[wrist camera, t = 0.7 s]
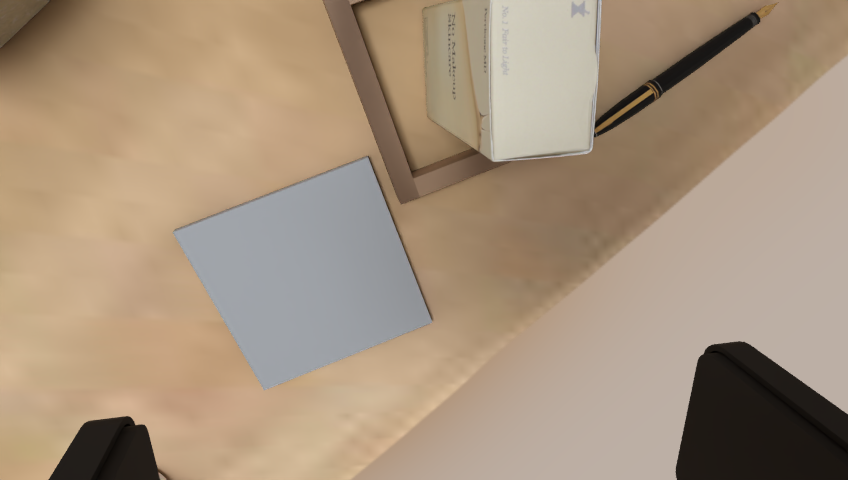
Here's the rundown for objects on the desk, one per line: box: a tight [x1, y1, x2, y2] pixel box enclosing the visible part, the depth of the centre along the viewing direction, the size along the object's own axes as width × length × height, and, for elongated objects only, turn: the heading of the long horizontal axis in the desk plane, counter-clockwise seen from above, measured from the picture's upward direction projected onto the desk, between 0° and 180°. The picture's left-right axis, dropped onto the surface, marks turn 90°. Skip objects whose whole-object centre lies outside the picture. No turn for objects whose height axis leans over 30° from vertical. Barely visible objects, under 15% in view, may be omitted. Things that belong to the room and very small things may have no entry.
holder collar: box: [323, 0, 514, 204], centre depth 30 cm, size 12×12×2 cm
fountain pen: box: [594, 3, 777, 137], centre depth 33 cm, size 14×1×2 cm, turn 124°
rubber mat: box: [173, 156, 432, 390], centre depth 33 cm, size 12×12×1 cm
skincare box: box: [422, 0, 602, 162], centre depth 25 cm, size 6×4×12 cm
